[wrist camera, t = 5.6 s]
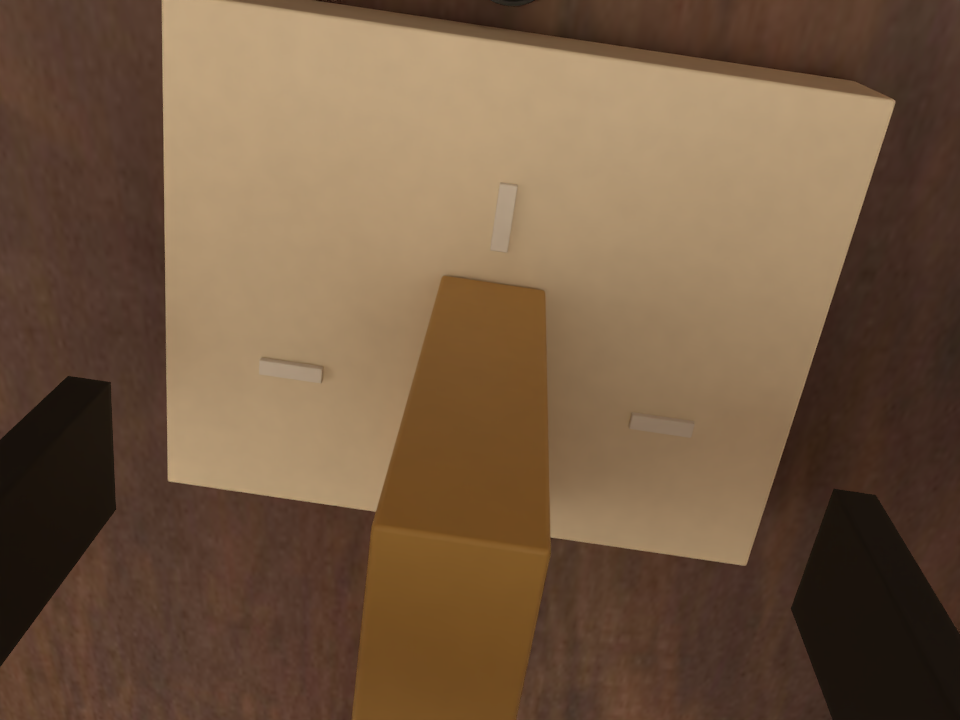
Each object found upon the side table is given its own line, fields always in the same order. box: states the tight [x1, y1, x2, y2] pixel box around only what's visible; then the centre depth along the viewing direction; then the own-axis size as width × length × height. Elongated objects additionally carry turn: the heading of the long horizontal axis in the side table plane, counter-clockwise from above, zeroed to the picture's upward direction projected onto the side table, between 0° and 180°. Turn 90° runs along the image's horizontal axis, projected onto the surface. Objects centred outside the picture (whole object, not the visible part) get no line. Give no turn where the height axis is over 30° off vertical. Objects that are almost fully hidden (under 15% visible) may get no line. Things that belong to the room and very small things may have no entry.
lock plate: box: [162, 0, 895, 566], centre depth 21 cm, size 14×12×3 cm
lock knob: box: [352, 276, 551, 720], centre depth 16 cm, size 6×2×9 cm, turn 172°
